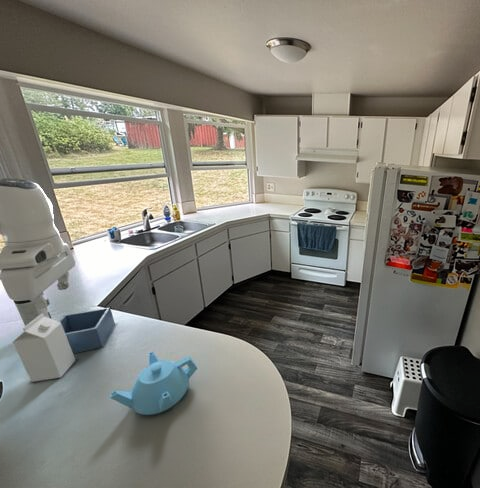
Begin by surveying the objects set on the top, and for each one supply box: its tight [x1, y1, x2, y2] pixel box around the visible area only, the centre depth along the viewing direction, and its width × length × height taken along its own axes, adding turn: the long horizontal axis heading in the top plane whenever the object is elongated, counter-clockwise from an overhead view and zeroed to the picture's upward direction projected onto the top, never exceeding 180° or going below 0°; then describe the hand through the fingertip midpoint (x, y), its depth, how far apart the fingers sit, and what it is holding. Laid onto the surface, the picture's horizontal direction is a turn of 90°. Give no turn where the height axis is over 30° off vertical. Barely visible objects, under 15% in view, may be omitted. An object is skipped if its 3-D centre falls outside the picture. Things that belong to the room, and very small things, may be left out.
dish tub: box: [58, 307, 116, 354], centre depth 90 cm, size 14×14×8 cm
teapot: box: [109, 351, 198, 416], centre depth 70 cm, size 15×15×11 cm
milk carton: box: [12, 313, 76, 383], centre depth 75 cm, size 7×7×19 cm
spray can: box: [12, 300, 53, 327], centre depth 91 cm, size 7×7×20 cm
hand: (54, 297), depth 65 cm, fingers open, 8 cm apart
